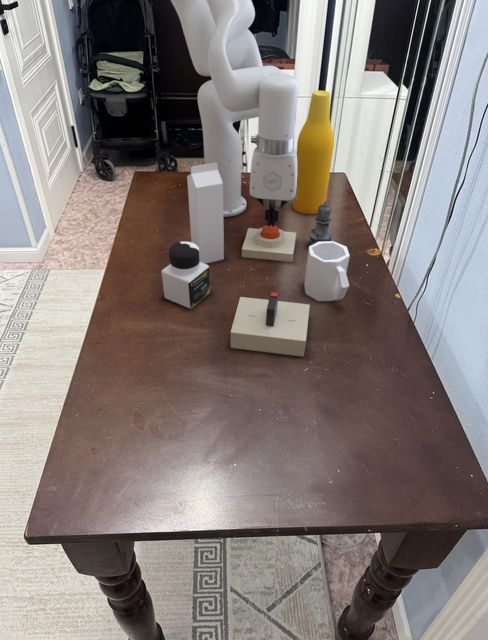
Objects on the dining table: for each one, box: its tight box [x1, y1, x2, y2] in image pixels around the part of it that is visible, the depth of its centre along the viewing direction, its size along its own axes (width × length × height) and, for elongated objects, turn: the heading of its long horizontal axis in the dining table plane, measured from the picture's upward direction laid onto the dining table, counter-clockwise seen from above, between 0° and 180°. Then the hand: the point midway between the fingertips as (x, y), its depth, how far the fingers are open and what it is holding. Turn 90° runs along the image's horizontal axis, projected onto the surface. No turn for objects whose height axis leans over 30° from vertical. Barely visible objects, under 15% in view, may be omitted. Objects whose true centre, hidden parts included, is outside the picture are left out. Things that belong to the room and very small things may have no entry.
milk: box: [186, 163, 225, 264], centre depth 109 cm, size 6×6×22 cm
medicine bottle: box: [161, 240, 211, 310], centre depth 101 cm, size 7×7×12 cm
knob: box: [266, 291, 279, 326], centre depth 93 cm, size 5×2×4 cm, turn 170°
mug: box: [303, 240, 351, 302], centre depth 103 cm, size 12×9×10 cm
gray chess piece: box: [308, 200, 334, 248], centre depth 117 cm, size 6×6×12 cm
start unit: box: [241, 227, 297, 263], centre depth 119 cm, size 12×10×4 cm
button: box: [261, 224, 280, 239], centre depth 117 cm, size 4×4×2 cm
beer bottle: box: [291, 90, 335, 216], centre depth 126 cm, size 9×9×29 cm
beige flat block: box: [230, 296, 311, 358], centre depth 96 cm, size 14×11×4 cm
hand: (271, 223), depth 115 cm, fingers closed
